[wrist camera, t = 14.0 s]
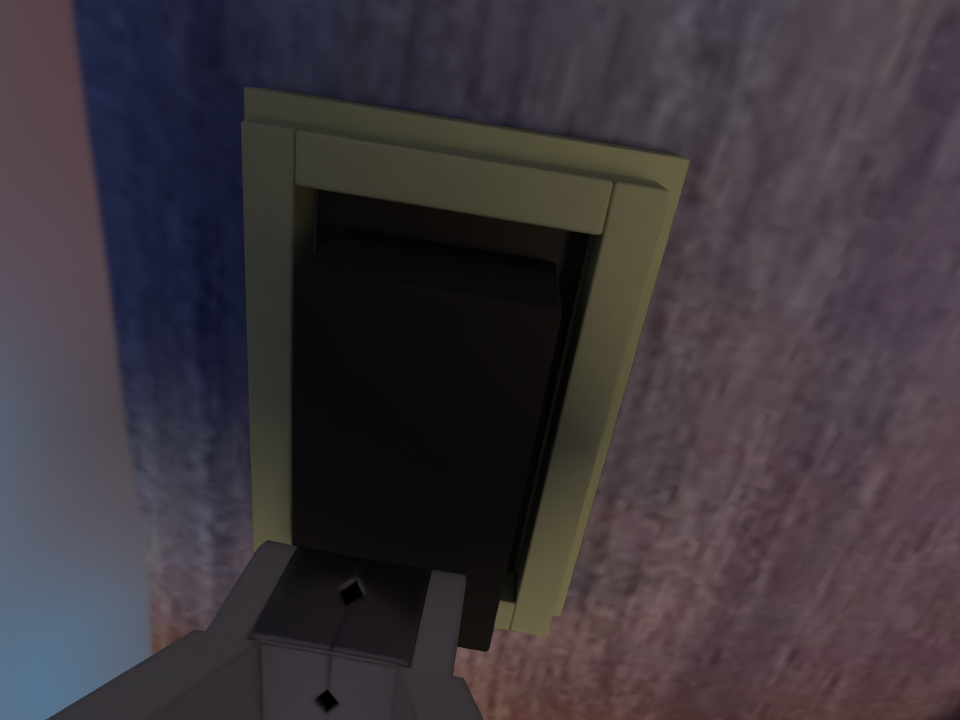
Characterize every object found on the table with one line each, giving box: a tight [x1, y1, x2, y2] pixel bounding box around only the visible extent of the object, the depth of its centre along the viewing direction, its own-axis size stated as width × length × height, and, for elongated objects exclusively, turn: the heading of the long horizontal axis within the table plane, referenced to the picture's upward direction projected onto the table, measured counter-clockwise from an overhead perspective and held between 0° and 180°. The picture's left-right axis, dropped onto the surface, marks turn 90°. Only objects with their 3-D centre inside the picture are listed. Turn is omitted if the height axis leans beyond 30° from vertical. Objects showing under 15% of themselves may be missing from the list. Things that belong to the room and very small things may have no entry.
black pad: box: [292, 229, 562, 652], centre depth 12 cm, size 8×4×3 cm, turn 172°
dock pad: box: [241, 87, 690, 637], centre depth 14 cm, size 12×9×2 cm
